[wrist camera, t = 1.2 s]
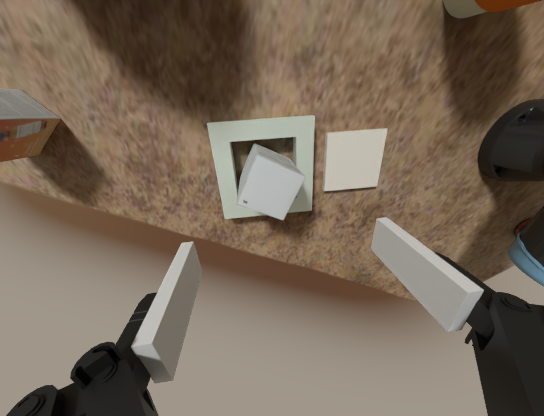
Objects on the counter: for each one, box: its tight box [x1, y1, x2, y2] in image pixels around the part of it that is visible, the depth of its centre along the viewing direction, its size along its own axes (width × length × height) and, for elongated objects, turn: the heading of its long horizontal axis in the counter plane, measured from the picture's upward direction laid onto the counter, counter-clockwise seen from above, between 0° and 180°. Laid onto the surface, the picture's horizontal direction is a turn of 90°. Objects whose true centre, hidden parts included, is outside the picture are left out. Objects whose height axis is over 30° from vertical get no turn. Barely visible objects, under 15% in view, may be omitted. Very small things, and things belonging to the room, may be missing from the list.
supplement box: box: [236, 143, 306, 220], centre depth 32 cm, size 7×7×13 cm
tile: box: [323, 128, 388, 191], centre depth 38 cm, size 11×11×1 cm
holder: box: [207, 115, 315, 219], centre depth 36 cm, size 17×17×3 cm
